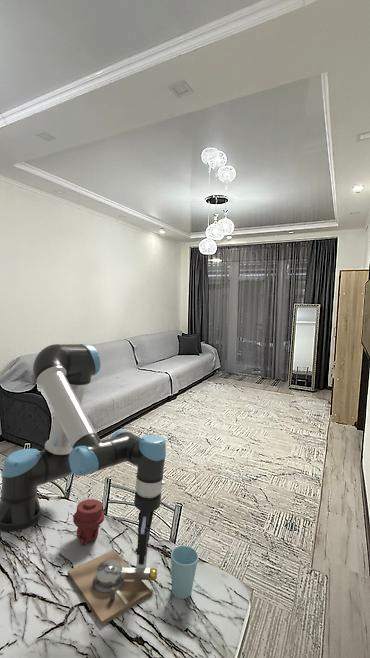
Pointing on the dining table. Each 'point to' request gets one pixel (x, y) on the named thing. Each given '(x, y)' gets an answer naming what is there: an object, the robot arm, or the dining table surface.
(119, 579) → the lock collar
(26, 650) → the dining table surface
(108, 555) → the post board
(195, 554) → the cup
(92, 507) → the mechanical component
